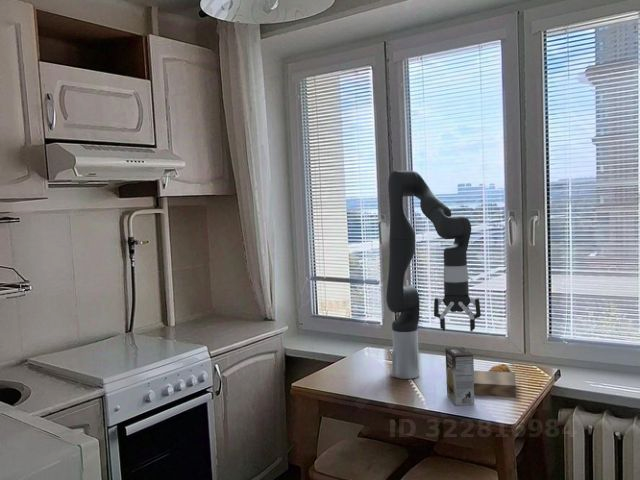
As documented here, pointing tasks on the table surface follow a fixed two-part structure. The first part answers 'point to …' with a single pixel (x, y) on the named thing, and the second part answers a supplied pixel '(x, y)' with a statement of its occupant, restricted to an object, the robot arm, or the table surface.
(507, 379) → the plinth
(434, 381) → the table surface
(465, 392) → the coffee box
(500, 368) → the pastry
